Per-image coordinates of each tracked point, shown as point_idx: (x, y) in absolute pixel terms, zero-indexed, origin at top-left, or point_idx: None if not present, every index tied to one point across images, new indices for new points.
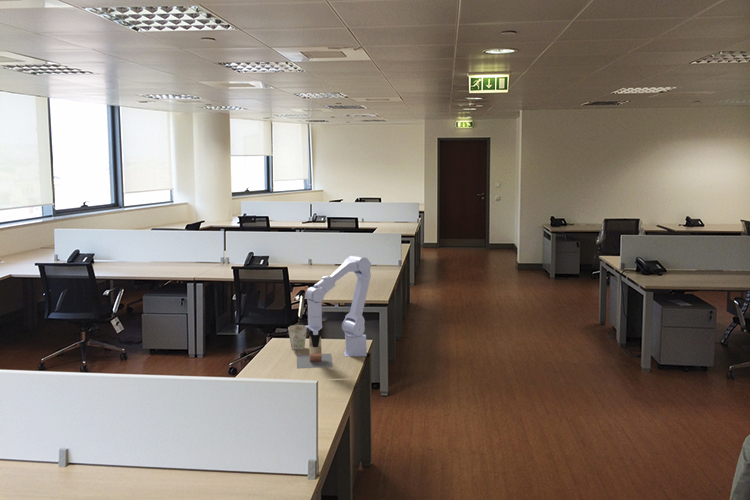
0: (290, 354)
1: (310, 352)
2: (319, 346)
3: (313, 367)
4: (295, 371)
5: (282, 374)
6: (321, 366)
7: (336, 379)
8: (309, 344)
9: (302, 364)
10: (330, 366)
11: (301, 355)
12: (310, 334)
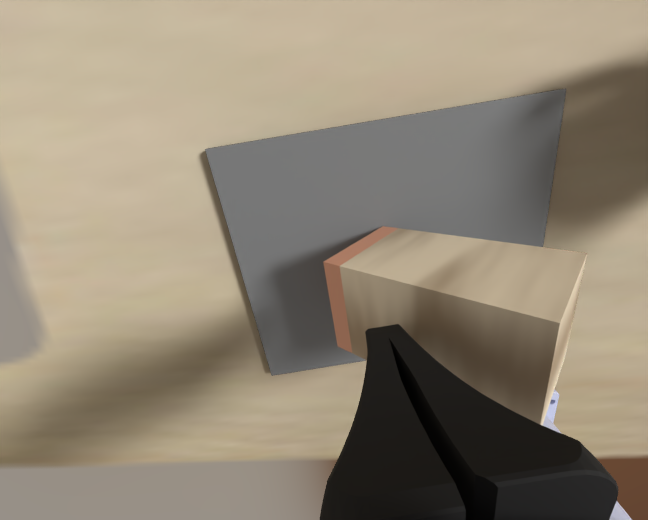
0: (623, 11)
1: (352, 275)
2: None
3: (244, 271)
4: (161, 144)
5: (51, 29)
6: (271, 316)
7: (86, 406)
8: (435, 291)
9: (305, 181)
10: (275, 363)
11: (538, 135)
12: (328, 491)
